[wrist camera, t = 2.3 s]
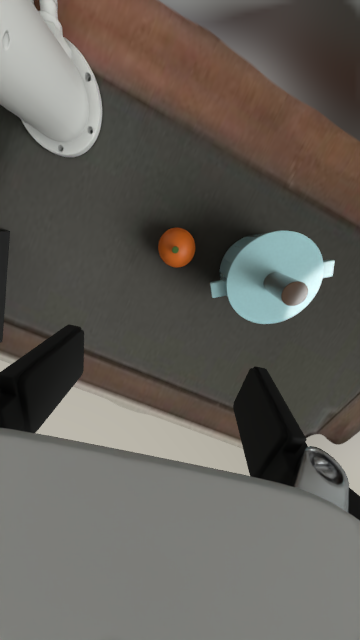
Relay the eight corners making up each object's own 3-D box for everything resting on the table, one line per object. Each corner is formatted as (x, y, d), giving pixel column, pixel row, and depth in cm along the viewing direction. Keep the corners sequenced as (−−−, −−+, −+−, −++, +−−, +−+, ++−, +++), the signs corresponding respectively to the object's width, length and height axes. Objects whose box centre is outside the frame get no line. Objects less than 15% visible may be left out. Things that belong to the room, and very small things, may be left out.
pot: (201, 245, 35) (205, 249, 26) (303, 224, 33) (344, 220, 24) (210, 307, 40) (216, 327, 31) (299, 292, 38) (331, 309, 29)
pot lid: (220, 242, 26) (230, 245, 20) (323, 220, 25) (371, 215, 18) (229, 326, 32) (239, 350, 25) (314, 313, 30) (348, 335, 24)
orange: (162, 225, 34) (156, 223, 27) (197, 231, 34) (199, 230, 27) (159, 261, 37) (152, 268, 30) (191, 266, 37) (192, 274, 30)
